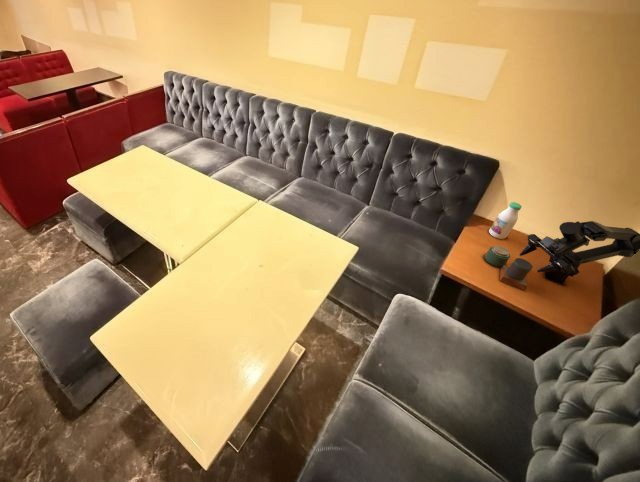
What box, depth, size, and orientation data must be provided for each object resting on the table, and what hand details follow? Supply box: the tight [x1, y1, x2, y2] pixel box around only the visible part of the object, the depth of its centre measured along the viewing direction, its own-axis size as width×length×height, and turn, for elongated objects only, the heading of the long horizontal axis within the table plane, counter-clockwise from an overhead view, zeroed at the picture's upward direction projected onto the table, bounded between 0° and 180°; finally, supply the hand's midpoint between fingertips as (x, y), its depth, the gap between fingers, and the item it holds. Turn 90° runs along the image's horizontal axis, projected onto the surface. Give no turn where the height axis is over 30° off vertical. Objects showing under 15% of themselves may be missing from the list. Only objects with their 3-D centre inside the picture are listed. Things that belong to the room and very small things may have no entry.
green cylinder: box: [483, 245, 511, 269], centre depth 148 cm, size 8×8×8 cm
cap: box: [507, 257, 534, 280], centre depth 137 cm, size 6×6×8 cm
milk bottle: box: [488, 201, 522, 240], centre depth 160 cm, size 8×8×20 cm
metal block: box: [499, 264, 528, 291], centre depth 140 cm, size 8×8×3 cm
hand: (528, 263), depth 135 cm, fingers open, 9 cm apart
